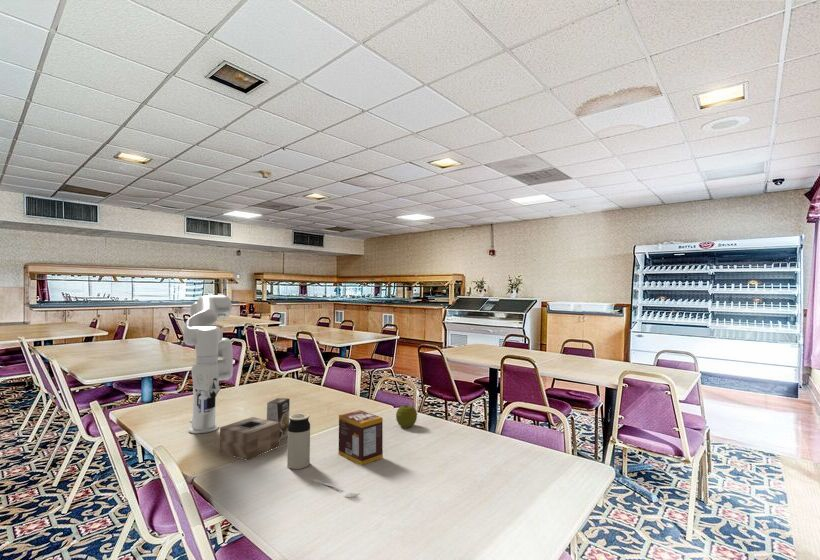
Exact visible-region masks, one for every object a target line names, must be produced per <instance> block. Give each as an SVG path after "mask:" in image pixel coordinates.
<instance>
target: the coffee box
mask: <svg viewBox="0 0 820 560" xmlns="http://www.w3.org/2000/svg"><path fill="white" fill-rule="evenodd" d="M290 400H291V399H290V398H285V397H281V398H280V397H279V398H278V397H276V398H275V399H273V400H270V401H268V402H267V403H266V406H267V407H266V420H270V421H275V422H280V434H279V442H280V441H281V440H283V439H284V438H286V437H288V425H289V423H290V419H289V416H290V403H291V402H290Z"/></svg>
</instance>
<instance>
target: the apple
mask: <svg viewBox="0 0 820 560" xmlns="http://www.w3.org/2000/svg"><path fill="white" fill-rule="evenodd" d="M417 417H418V412H417V409H416V408H415V407H413V406H412V405H408V403H406V404H405V405H404V404H403V405H400V406H399V407H398V409H397V410H396V413H395V419H396V422H397V424H398V425H399V426H400V427H402V428H405V427H406V429H407V428H408V427H409V428H411V427H414V425H415V424H416V421H417V420H418V419H417Z"/></svg>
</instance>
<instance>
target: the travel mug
mask: <svg viewBox="0 0 820 560" xmlns="http://www.w3.org/2000/svg"><path fill="white" fill-rule="evenodd" d="M310 417H311V416H310V414H308V413H305V412H300V413H292V414H289V425H288V435H287V455H286V457H287V459H286V460H287V464H286V465H287V467H288V468H289V469H292V470H300V469H305V468H306V467H308V466H309V465H310V462H311V423H310V421H309V419H310ZM304 467H305V468H304Z"/></svg>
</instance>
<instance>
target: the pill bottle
mask: <svg viewBox="0 0 820 560" xmlns="http://www.w3.org/2000/svg"><path fill="white" fill-rule="evenodd" d="M210 392H211V393H212V391H210ZM200 393H201V396H199V402H198V413H199V414H210V413H212V412H213V408H209V409H207V398H208V393H207V391H203V390H201V392H200Z"/></svg>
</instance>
